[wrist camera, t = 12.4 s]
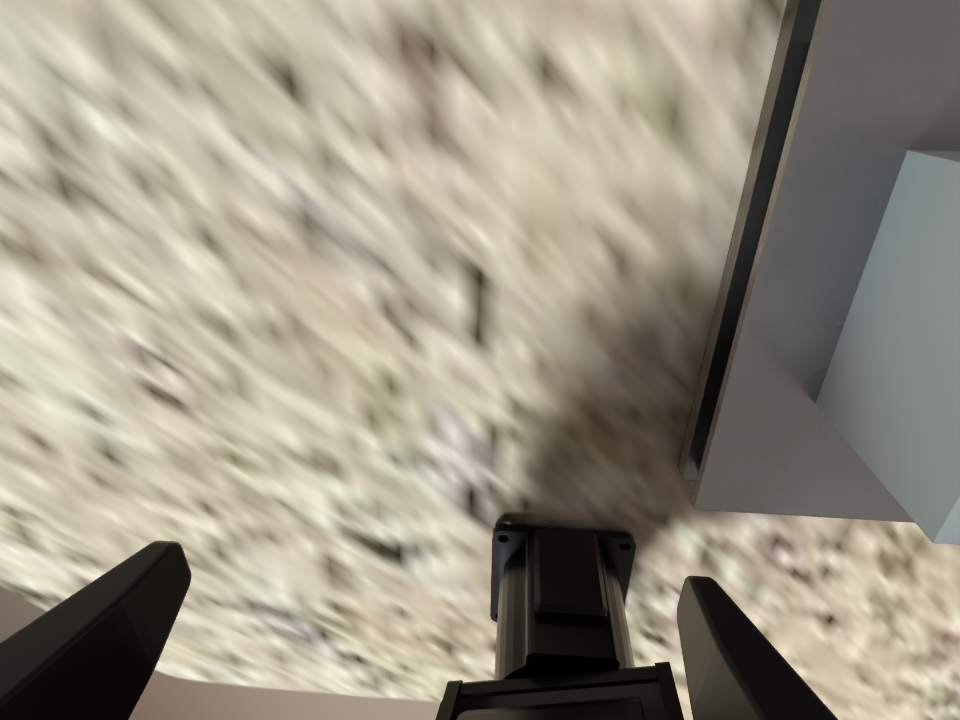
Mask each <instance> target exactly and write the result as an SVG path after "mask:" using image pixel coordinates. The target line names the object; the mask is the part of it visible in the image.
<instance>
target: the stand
mask: <svg viewBox="0 0 960 720" xmlns="http://www.w3.org/2000/svg"><path fill="white" fill-rule="evenodd" d="M907 150H926V151H960V0H787V5H786V9H785V13H784V17H783V22H782V26H781V30H780V34H779V39H778V43H777V47H776V51H775V56H774V60H773V64H772V69H771V73H770V77H769V81H768V86H767V90H766V94H765V98H764V103H763V107H762V111H761V115H760V120H759V124H758V128H757V132H756V137H755V141H754V145H753V149H752V154H751V158H750V162H749V167H748V171H747V175H746V179H745V184H744V188H743V192H742V196H741V201H740V205H739V209H738V213H737V218H736V222H735V226H734V230H733V235H732V239H731V243H730V247H729V252H728V256H727V260H726V265H725V269H724V273H723V277H722V282H721V286H720V290H719V294H718V299H717V303H716V307H715V311H714V316H713V320H712V324H711V328H710V333H709V337H708V341H707V345H706V350H705V354H704V358H703V363H702V367H701V371H700V375H699V380H698V384H697V388H696V392H695V397H694V401H693V405H692V409H691V414H690V418H689V422H688V426H687V431H686V435H685V439H684V443H683V448H682V452H681V456H680V461H679V465H678V468H679V471H680V474H681V476H682V479H683V480H697V482H696V485H695V489H694V493H693V497H692V501H691V503H692V506H693V508H694V510H710V511H727V512H744V513H761V514H778V515H795V516H812V517H829V518H846V519H863V520H880V521H897V522H914V520H913V519H912V518H911V517H910V516H909V514H908V513H907V512H906V511H905V510H904V509H903V507H902V506H901V505H900V504H899V503H898V501H897V500H896V499H895V498H894V497H893V496H892V494H891V493H890V492H889V491H888V490H887V488H886V487H885V486H884V485H883V484H882V482H881V481H880V480H879V479H878V478H877V477H876V475H875V474H874V473H873V472H872V471H871V469H870V468H869V467H868V466H867V465H866V464H865V462H864V461H863V460H862V459H861V458H860V456H859V455H858V454H857V453H856V452H855V451H854V449H853V448H852V447H851V446H850V445H849V443H848V442H847V441H846V440H845V439H844V437H843V436H842V435H841V434H840V433H839V432H838V430H837V429H836V428H835V427H834V426H833V424H832V423H831V422H830V421H829V420H828V419H827V417H826V416H825V415H824V414H823V413H822V411H821V410H820V409H819V408H818V407H817V406H816V401H817V398H818V395H819V393H820V390H821V387H822V384H823V382H824V379H825V376H826V373H827V371H828V368H829V365H830V362H831V360H832V357H833V354H834V351H835V349H836V346H837V343H838V340H839V338H840V335H841V332H842V329H843V327H844V324H845V321H846V318H847V315H848V313H849V310H850V307H851V304H852V302H853V299H854V296H855V293H856V291H857V288H858V285H859V282H860V280H861V277H862V274H863V271H864V269H865V266H866V263H867V260H868V258H869V255H870V252H871V249H872V247H873V244H874V241H875V238H876V236H877V233H878V230H879V227H880V224H881V222H882V219H883V216H884V213H885V211H886V208H887V205H888V202H889V200H890V197H891V194H892V191H893V189H894V186H895V183H896V180H897V178H898V175H899V172H900V169H901V167H902V164H903V161H904V158H905V156H906V153H907ZM914 523H915V522H914Z"/></svg>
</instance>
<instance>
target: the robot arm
mask: <svg viewBox="0 0 960 720" xmlns="http://www.w3.org/2000/svg"><path fill="white" fill-rule="evenodd" d="M501 535H506V536H501ZM621 543H626V544H621ZM635 549H636V544H635V539H634V537H633V535H632V534H630V533H627V532H617V531H600V530H584V529H568V528H552V527H536V526H520V525H498V526H496V527H495V528H494V530H493V538H492V576H491V615H490V616H491V619H492V620H493V621H495V622H497V639H496V658H495V677H494V680H487V681H476V682H465V683H463V681H462V680H459V681H449V682H448V684H447V687H446V690H445V694H444V697H443V700H442V702H441V704H440V707H439V710H438V714H437V717H436V720H684V718H683V714H682V710H681V706H680V702H679V698H678V694H677V690H676V686H675V682H674V678H673V674H672V670H671V667H670V663H669V662H661V663H655V666H646V667H635V665H634V660H633V654H632V648H631V643H630V637H629V632H628V626H627V620H626V615H625V609H624V603H625V598H626V593H627V588H628V583H629V578H630V573H631V568H632V564H633V559H634V554H635ZM190 582H191V570H190V568H189V565H188V562H187V559H186V557H185V554H184V551H183V548H182V546H181V545H180V544H179V543H178V542H173V541H155V542H153V543H151V544H149V545H148V546H146V547H145V548H143V549H141V550H140V551H138V552H137V553H135V554H134V555H132V556H131V557H129V558H128V559H126V560H125V561H123V562H122V563H120V564H119V565H117V566H116V567H114V568H113V569H111V570H110V571H108V572H107V573H105V574H104V575H102V576H101V577H99V578H98V579H96V580H95V581H93V582H92V583H90V584H89V585H87V586H85V587H84V588H82V589H81V590H79V591H78V592H76V593H75V594H73V595H72V596H70V597H69V598H67V599H66V600H64V601H63V602H61V603H60V604H58V605H57V606H55V607H54V608H52V609H51V610H49V611H48V612H46V613H45V614H43V615H42V616H40V617H39V618H37V619H36V620H34V621H33V622H31V623H30V624H28V625H27V626H25V627H23V628H22V629H20V630H19V631H17V632H16V633H14V634H13V635H11V636H10V637H9V638H7V639H6V640H4V641H2V642H1V643H0V720H128V719H129V717H130V715H131V713H132V711H133V709H134V707H135V706H136V704H137V702H138V700H139V698H140V696H141V694H142V692H143V691H144V689H145V687H146V685H147V683H148V681H149V679H150V677H151V675H152V673H153V671H154V669H155V667H156V665H157V662H158V660H159V658H160V656H161V653H162V651H163V648H164V646H165V644H166V641H167V639H168V636H169V634H170V632H171V629H172V627H173V624H174V622H175V620H176V617H177V615H178V612H179V610H180V608H181V605H182V603H183V600H184V598H185V596H186V593H187V591H188V588H189V586H190ZM677 622H678V628H679V635H680V641H681V647H682V654H683V660H684V666H685V673H686V679H687V685H688V692H689V698H690V704H691V710H692V715H693V719H694V720H838V719H837V718H836V717H835V715H834V714H833V713H832V712H831V711H830V710H829V709H828V708H827V706H826V705H825V704H824V703H823V702H822V701H821V700H820V699H819V697H818V696H817V695H816V694H815V693H814V692H813V691H812V690H811V688H810V687H809V686H808V685H807V684H806V683H805V682H804V680H803V679H802V678H801V677H800V676H799V675H798V674H797V673H796V671H795V670H794V669H793V668H792V667H791V666H790V665H789V664H788V662H787V661H786V660H785V659H784V658H783V657H782V656H781V655H780V653H779V652H778V651H777V650H776V649H775V648H774V647H773V646H772V644H771V643H770V642H769V641H768V640H767V639H766V638H765V637H764V635H763V634H762V633H761V632H760V631H759V630H758V629H757V627H756V626H755V625H754V624H753V623H752V622H751V621H750V620H749V618H748V617H747V616H746V615H745V614H744V613H743V612H742V611H741V609H740V608H739V607H738V606H737V605H736V604H735V603H734V602H733V600H732V599H731V598H730V597H729V596H728V595H727V594H726V593H725V591H724V590H723V589H722V588H721V587H720V586H719V585H718V584H717V582H716V581H715V580H713V579H712V578H710V577H702V576H688V577H687V578H686V579H685V581H684V585H683V588H682V592H681V595H680V599H679V603H678V607H677Z"/></svg>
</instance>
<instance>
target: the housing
mask: <svg viewBox="0 0 960 720" xmlns="http://www.w3.org/2000/svg"><path fill="white" fill-rule="evenodd" d="M816 406H817V407H818V408H819V409H820V410H821V411H822V413H823V414H824V415H825V416H826V417H827V419H828V420H829V421H830V422H831V423H832V424H833V426H834V427H835V428H836V429H837V430H838V432H839V433H840V434H841V435H842V436H843V437H844V439H845V440H846V441H847V442H848V443H849V445H850V446H851V447H852V448H853V449H854V451H855V452H856V453H857V454H858V455H859V456H860V458H861V459H862V460H863V461H864V462H865V464H866V465H867V466H868V467H869V468H870V469H871V471H872V472H873V473H874V474H875V475H876V477H877V478H878V479H879V480H880V481H881V482H882V484H883V485H884V486H885V487H886V488H887V490H888V491H889V492H890V493H891V494H892V496H893V497H894V498H895V499H896V500H897V501H898V503H899V504H900V505H901V506H902V507H903V509H904V510H905V511H906V512H907V513H908V514H909V516H910V517H911V518H912V519H913V520H914V522H915V523H916V524H917V525H918V526H919V527H920V529H921V530H922V531H923V532H924V533H925V535H926V536H927V537H928V538H929V539H930V541H931V542H932V543H940V544H957V545H960V151H926V150H907V153H906V156H905V158H904V161H903V164H902V167H901V169H900V172H899V175H898V178H897V180H896V183H895V186H894V189H893V191H892V194H891V197H890V200H889V202H888V205H887V208H886V211H885V213H884V216H883V219H882V222H881V224H880V227H879V230H878V233H877V236H876V238H875V241H874V244H873V247H872V249H871V252H870V255H869V258H868V260H867V263H866V266H865V269H864V271H863V274H862V277H861V280H860V282H859V285H858V288H857V291H856V293H855V296H854V299H853V302H852V304H851V307H850V310H849V313H848V315H847V318H846V321H845V324H844V327H843V329H842V332H841V335H840V338H839V340H838V343H837V346H836V349H835V351H834V354H833V357H832V360H831V362H830V365H829V368H828V371H827V373H826V376H825V379H824V382H823V384H822V387H821V390H820V393H819V395H818V398H817V401H816Z"/></svg>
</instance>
